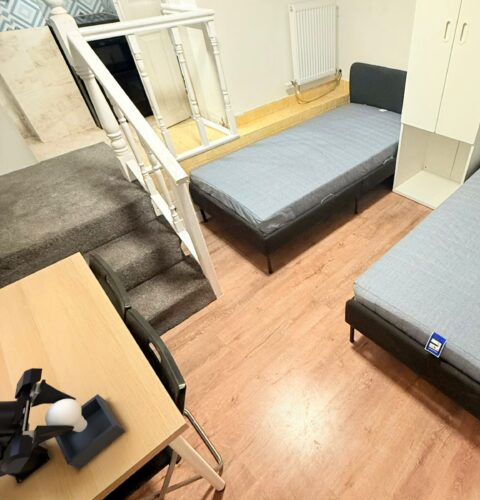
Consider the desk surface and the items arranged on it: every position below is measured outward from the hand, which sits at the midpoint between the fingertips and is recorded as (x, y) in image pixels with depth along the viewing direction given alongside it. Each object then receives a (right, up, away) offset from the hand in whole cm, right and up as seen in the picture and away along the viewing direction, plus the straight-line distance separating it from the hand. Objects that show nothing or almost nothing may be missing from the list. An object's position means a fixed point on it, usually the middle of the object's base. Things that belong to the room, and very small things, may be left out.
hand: (74, 413), depth 72 cm
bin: (-1, -8, +7) cm, 11 cm away
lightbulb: (-1, -5, +4) cm, 7 cm away
